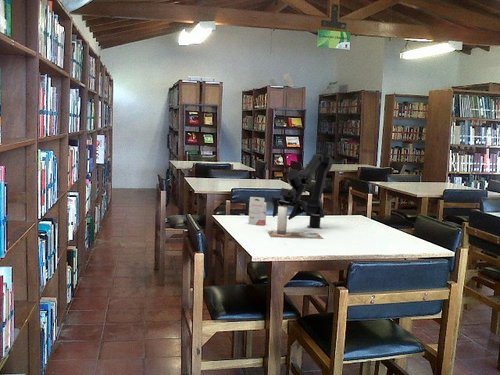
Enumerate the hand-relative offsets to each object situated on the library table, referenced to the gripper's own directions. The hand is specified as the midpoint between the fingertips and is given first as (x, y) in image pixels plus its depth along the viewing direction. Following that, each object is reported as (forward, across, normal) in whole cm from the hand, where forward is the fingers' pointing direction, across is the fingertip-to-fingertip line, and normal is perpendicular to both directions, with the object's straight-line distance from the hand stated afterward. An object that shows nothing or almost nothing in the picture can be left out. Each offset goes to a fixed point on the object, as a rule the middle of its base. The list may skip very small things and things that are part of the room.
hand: (280, 217), depth 243 cm
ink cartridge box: (-6, -28, +19) cm, 34 cm away
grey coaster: (-2, +9, +13) cm, 16 cm away
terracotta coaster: (+5, 0, +7) cm, 8 cm away
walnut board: (+2, +5, +11) cm, 12 cm away
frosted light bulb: (+4, 0, +6) cm, 8 cm away
